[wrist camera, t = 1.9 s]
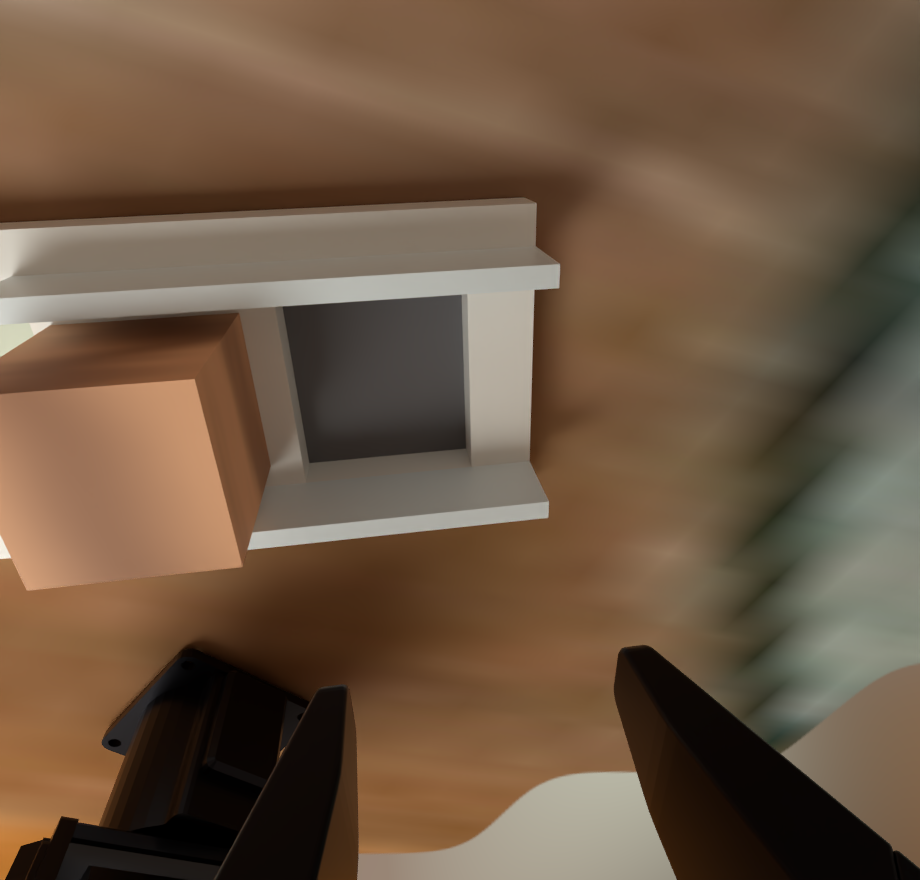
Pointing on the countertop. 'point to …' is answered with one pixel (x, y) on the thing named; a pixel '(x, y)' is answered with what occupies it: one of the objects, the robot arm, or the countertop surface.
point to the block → (129, 450)
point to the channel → (333, 345)
